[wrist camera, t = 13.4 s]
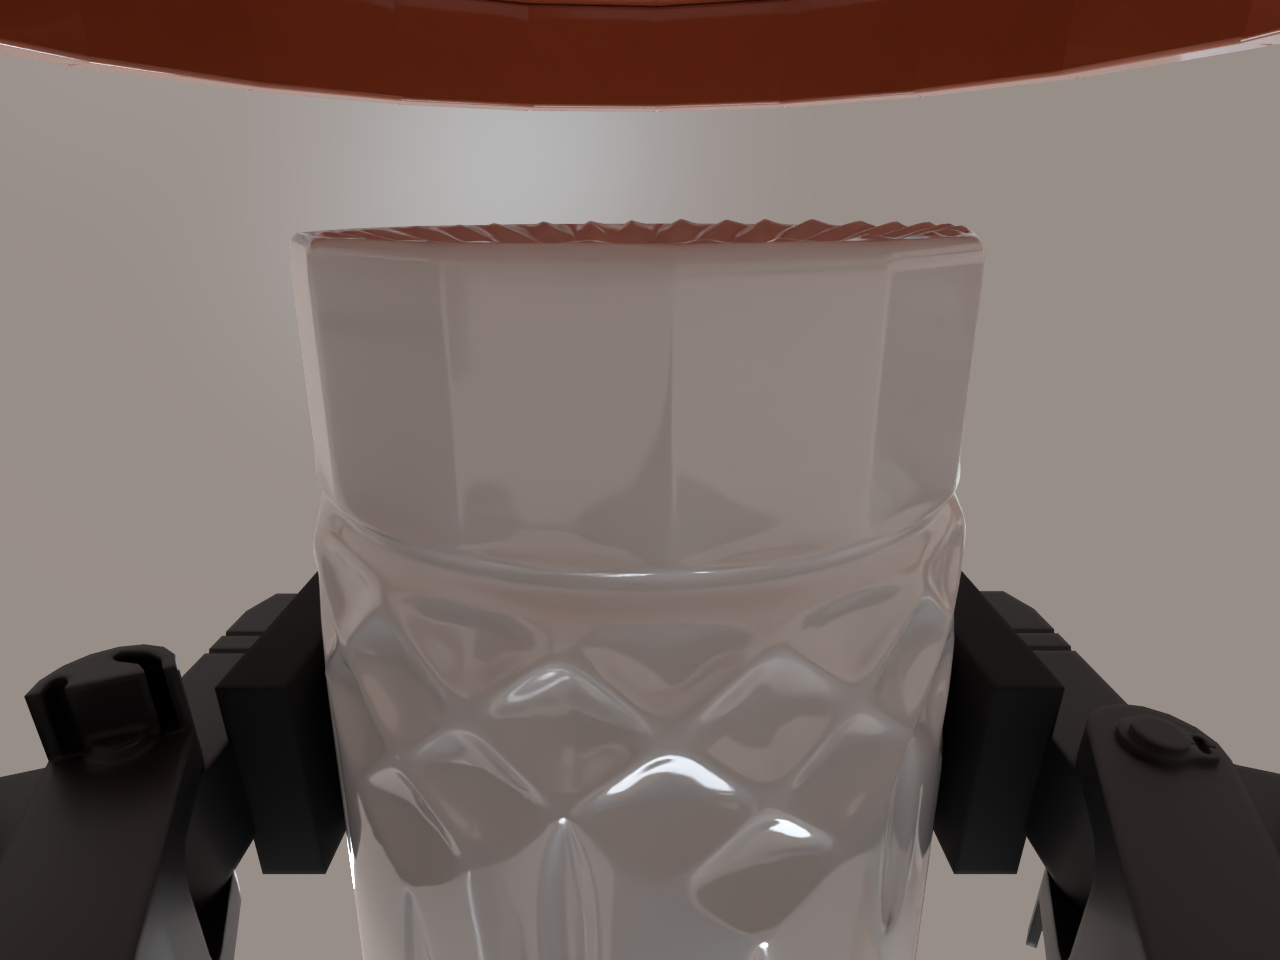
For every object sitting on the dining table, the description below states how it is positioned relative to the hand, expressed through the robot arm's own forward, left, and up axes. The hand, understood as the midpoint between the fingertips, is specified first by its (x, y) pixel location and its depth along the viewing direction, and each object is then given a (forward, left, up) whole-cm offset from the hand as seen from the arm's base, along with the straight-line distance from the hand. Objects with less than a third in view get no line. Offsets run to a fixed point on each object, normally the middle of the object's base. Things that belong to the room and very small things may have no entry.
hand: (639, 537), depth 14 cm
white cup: (+2, +4, -6) cm, 8 cm away
